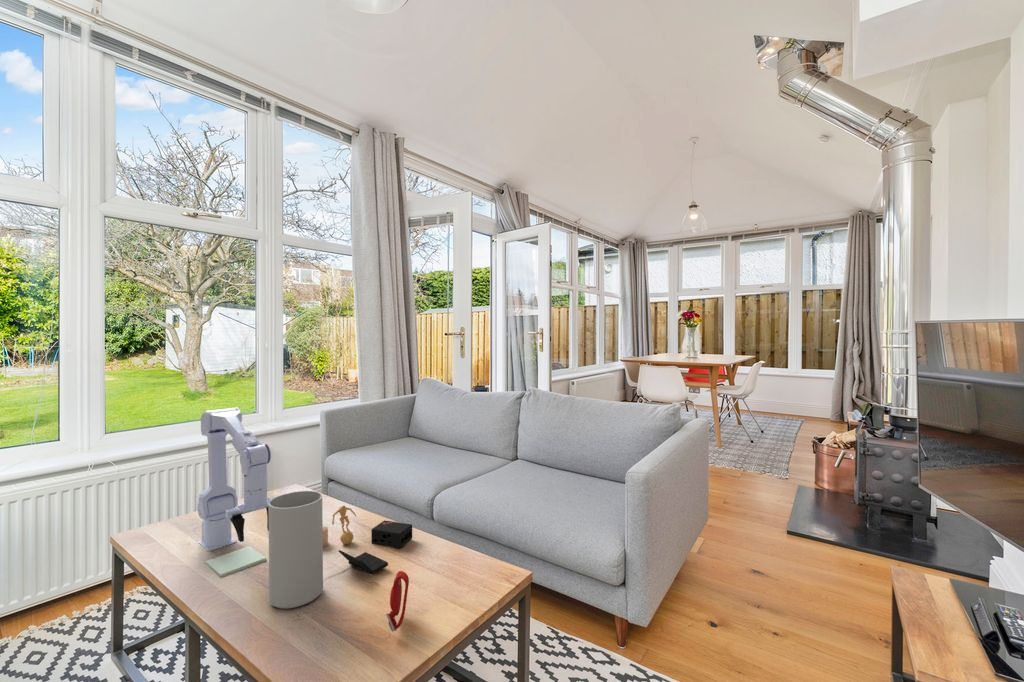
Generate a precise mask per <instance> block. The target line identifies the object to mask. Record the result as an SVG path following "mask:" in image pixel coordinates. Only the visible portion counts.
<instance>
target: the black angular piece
mask: <svg viewBox="0 0 1024 682" xmlns="http://www.w3.org/2000/svg"><path fill="white" fill-rule="evenodd" d="M337 552H338V553H340V555H342V556H343V558H345V559H346V560H347V561H348V564H349V565H351V566H353V567H355V568H356V569H359V570H362V571H363V572H365V573H367V574H368V575H370V576H373V575H374V574H376V573H377V572H379V571H381V570H383V569H385V568H386V567H388V566H389V562H388V561H386V560H384V559H382V558H379V557H378V556H376V555H373V554H371V553H368V552H363V553H360V554H359V555H357V556H355V557H354V556H353V555H350V554H348V553H346V552H344V551H343V550H340V549H338V550H337Z"/></svg>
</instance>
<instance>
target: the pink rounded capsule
mask: <svg viewBox="0 0 1024 682" xmlns="http://www.w3.org/2000/svg"><path fill="white" fill-rule="evenodd" d="M328 544H329V528H328V527H327V526H323V548H325V547H327V546H328Z"/></svg>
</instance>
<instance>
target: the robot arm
mask: <svg viewBox="0 0 1024 682" xmlns="http://www.w3.org/2000/svg"><path fill="white" fill-rule="evenodd" d="M242 421H243V414H242V411H241V409H240V408H239V407H237V406H236V407H229V408H222V409H213V410H205V411H203V413H202V414H201V416H200V432H201V436H205V437H207V439H206V440H207V450H208V451H207V455H208V459H207V460H208V487H206V488H205V489H204V490H203V491H202V492H201V493H200V494H199V495H198V502H197V514H198V516H199V518H200V519H202V521H201V540H198V544H199V545H201V547H203V549H205V550H206V551H208V552H211V551H214V550H217V549H220V548H224V547H227V546H229V545H233V544H235V542H236V543H237V540H238V541H239V542H240V543H242V542H244V541H245V534H244V533H245V532H244V529H245V528H244V527H245V520H246V519H245V518H244V517H243V515H245V514H248V513H251V512H255V511H261V510H264V509H266V515H267V516H266V517H267V518H266V519H267V525H266V528H267V529H266V530H267V532H269V510H268V503H269V501H270V500H271V499H273V498H275V497H276V496H274V497H268V464H269V463H270V462H271V458H272V452H271V448H270V446H269V444H268V443H264V442H260V441H259V440H258V438H256V436H255V435H254V433H253V432H252V431H250V430H246V429H245V428H244V425H243V424H242ZM228 435H229V436H231V438H232V440H231V444H232V446H233V447H234V449H235V451H236V452H237V453H238V455H239V462H240V466H241V474H243V504H242V503H241V504H240V505H238V504H239V499H238V496H237V490H236V488H235V487H234V486H232V485H230V484H228V478H227V477H228V475H227V474H228V473H227V472H228V471H227V470H228V469H227V466H228V465H227V436H228ZM232 525H233V528H234V529H235V532H236V535H237V539H235V538H234V537H232ZM226 545H227V546H226ZM223 546H224V547H223Z"/></svg>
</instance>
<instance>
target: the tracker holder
mask: <svg viewBox="0 0 1024 682" xmlns="http://www.w3.org/2000/svg"><path fill="white" fill-rule="evenodd" d="M402 580H403V581H404V584H405V586H404V587H405V588H404V594H403V595H404V596H403V601H402V592H403V586H402V584H403V583H402ZM409 581H410V580H409V576H408V574H407V572H406V571H403V570H399V571H398V572H396V575H395V576H394V578H393V585H392V586H391V590H390V594H389V606H390V607H389V608H390V609H391V611H390V612H389V613H388V612H387V613H386V614H385V615H386V617H387V620H388V627H389V628H390V630H391V632H393V633H394V632H397V631H398V629H399V628H400V627H401V626H402V624H403V620H404V618H405V614H406V607H407V598H408V592H409V591H408V590H409V584H410V582H409ZM401 602H402V603H403V604H402V609H401ZM400 611H401V613H400ZM399 613H400V617H399V620H398V622H397V620H396V616H399Z"/></svg>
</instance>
